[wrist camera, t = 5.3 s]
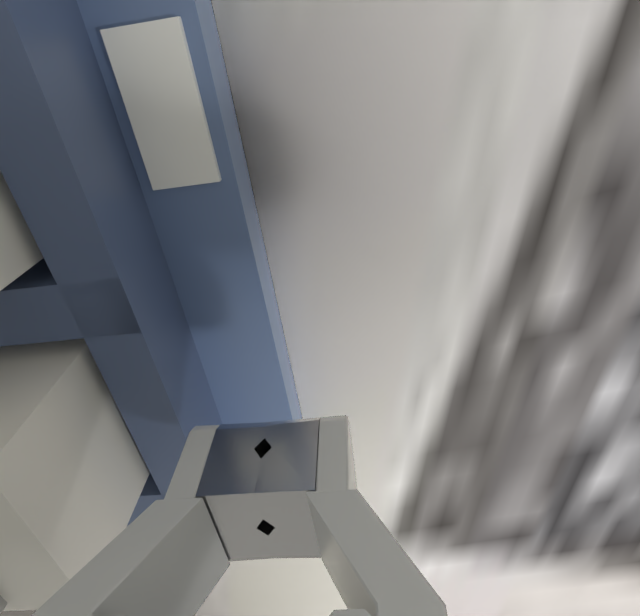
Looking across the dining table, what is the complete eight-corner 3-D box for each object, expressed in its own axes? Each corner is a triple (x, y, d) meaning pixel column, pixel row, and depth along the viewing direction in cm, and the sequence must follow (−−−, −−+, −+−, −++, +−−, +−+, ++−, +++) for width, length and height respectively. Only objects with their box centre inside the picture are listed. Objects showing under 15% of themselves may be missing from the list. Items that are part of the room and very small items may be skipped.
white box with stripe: (113, 311, 11) (-25, 482, 7) (166, 433, 13) (86, 620, 9) (-42, 327, 11) (-262, 497, 7) (33, 442, 13) (-103, 625, 9)
